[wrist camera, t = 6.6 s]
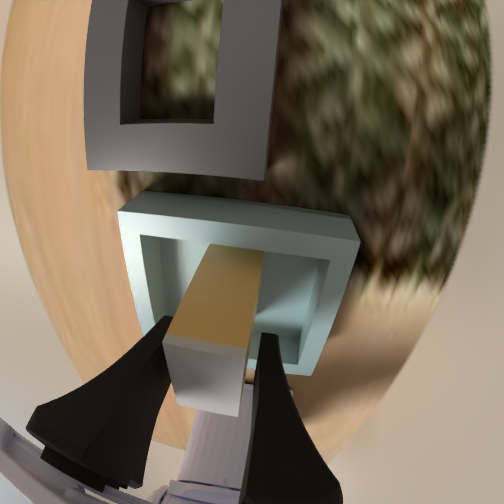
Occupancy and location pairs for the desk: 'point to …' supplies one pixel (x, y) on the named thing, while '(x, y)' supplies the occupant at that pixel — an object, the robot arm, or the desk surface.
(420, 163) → the desk surface
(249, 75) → the dark gray rectangular frame
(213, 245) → the white and tan block
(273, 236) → the parts tray
